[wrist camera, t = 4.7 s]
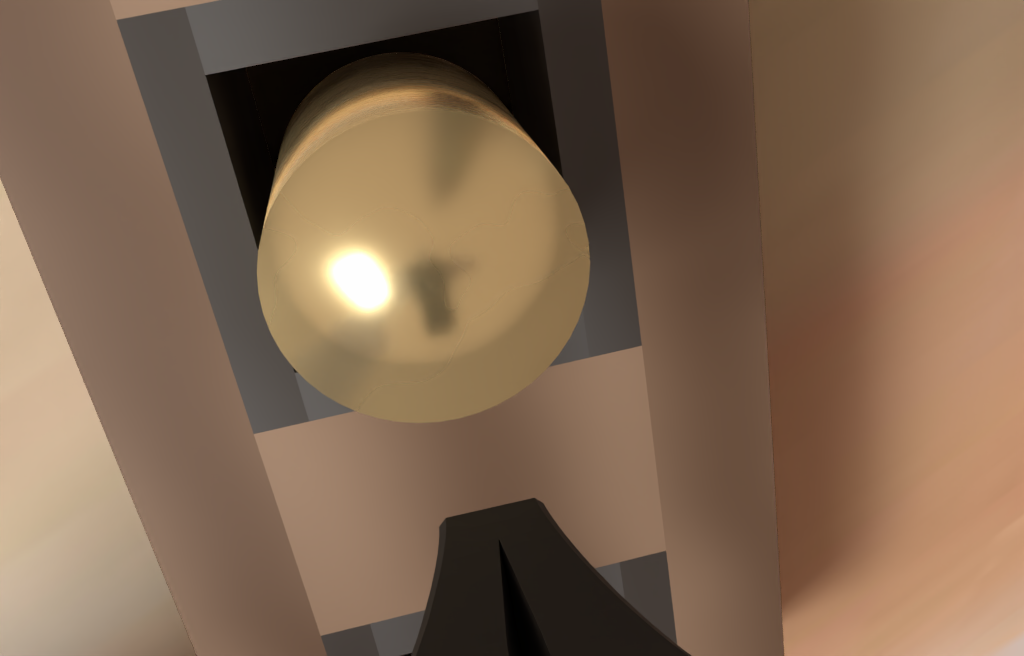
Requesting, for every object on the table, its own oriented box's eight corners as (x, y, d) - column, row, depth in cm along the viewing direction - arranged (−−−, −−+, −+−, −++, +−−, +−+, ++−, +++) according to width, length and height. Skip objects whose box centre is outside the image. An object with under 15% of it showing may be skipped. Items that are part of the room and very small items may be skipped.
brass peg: (312, 316, 18) (306, 454, 13) (246, 80, 16) (212, 150, 12) (542, 265, 18) (608, 384, 14) (503, 29, 16) (565, 79, 12)
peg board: (314, 761, 27) (310, 933, 23) (14, -65, 18) (-94, -51, 13) (719, 657, 28) (792, 801, 24) (640, -179, 19) (737, -202, 14)
